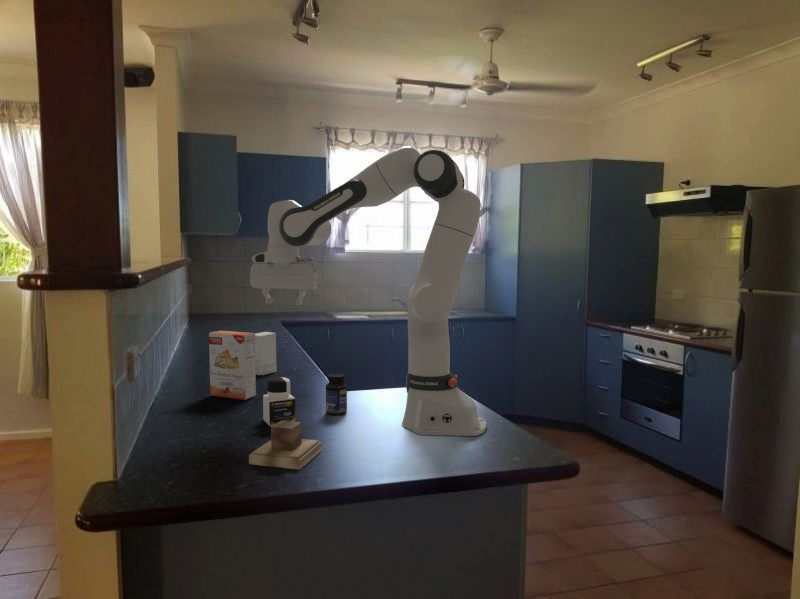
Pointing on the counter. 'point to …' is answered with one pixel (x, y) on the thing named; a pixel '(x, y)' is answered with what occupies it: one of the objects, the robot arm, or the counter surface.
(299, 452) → the square wooden base
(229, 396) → the cracker box
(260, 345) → the skincare box
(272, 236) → the robot arm
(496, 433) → the counter surface
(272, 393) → the medicine bottle
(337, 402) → the pill bottle
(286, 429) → the cube
